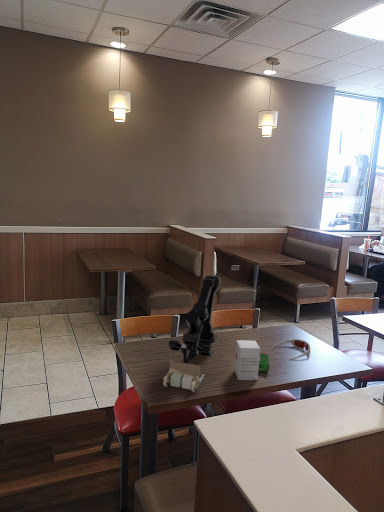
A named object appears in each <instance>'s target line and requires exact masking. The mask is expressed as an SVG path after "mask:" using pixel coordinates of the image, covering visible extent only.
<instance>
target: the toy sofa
mask: <svg viewBox="0 0 384 512" xmlns="http://www.w3.org/2000/svg"><path fill="white" fill-rule="evenodd" d="M173 373H179V374H183V377H184V375H190V376H194V381H193V382H192V387H191V390H190V391H191V392H192V391H195V389H196V387H197V385H198V384H199V383H200V384H201V382H200V381H199V379H200V377H201V376H200V373H201V365H199V364H198V365H197V364H193V363H189V364H188V363H184V362H180V361H175V360H170V361H169V369H168V371H167V373H166V374H165V376H164V377H163V383H162V384H163V386H164V385H167V384H168V382H169V381H170V379H171V375H172V374H173ZM200 384H199V385H200ZM168 385H169V384H168ZM197 388H198V387H197ZM196 390H197V389H196ZM195 392H196V391H195Z"/></svg>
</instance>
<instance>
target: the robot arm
mask: <svg viewBox="0 0 384 512" xmlns="http://www.w3.org/2000/svg"><path fill="white" fill-rule="evenodd" d="M221 284H222V279H221V278H220V276H217V275H206V276H205V277H202V287H201V290H200V293H199V295H198V300H197V302H195V303H194V304H193V305H192V309H190V310H189V311H188V312H187V313H186V314H185V316H184V319H185V321H186V325H187V326H188V330H187V331H186V333H184V332H183V333H182V339H181V341H182V342H183V343H180V342H179V340H176V339H170V340H169V341H168V344H167V345H168V348H169V350H171V351H175V352H178V351H181V354H182V355H183V363H188V364H191V362H192V361H193V360H194V359H195V357H199V354H200V355H202V356H205V357H212V355H213V353H214V351H213V350H212V344H213V343H215V341H216V336H215V333H214V326H213V324H212V316H213V310H214V303H215V297H216V294H217V292H218V291H219V290H220V287H221Z"/></svg>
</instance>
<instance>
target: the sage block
mask: <svg viewBox="0 0 384 512" xmlns="http://www.w3.org/2000/svg"><path fill="white" fill-rule="evenodd" d="M182 378H183V374H179V373H173V374H172V375H171V379H170V383H169V384H170V387H175V388H180V387H182Z"/></svg>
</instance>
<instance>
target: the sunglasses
mask: <svg viewBox="0 0 384 512" xmlns="http://www.w3.org/2000/svg"><path fill="white" fill-rule="evenodd" d="M282 344H283V345H284V344H291V345H292V346H293V347H295V348H297V349H301V350H304V351H305V352H304V353H302V354H300V355H297V356H296V357H291V358H287V360H288V361H293V360H296V359H299V358H302V357H305V356H306V355H308V356H310V354H311V345H310V343H309V342H307V341H306V340H303V339H298V338H292V339H286V340H284V341H281V342H279V343H276V344H275V345H273V346H272V347H271V349H274V348H275V347H277V346H279V345H282Z"/></svg>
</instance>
